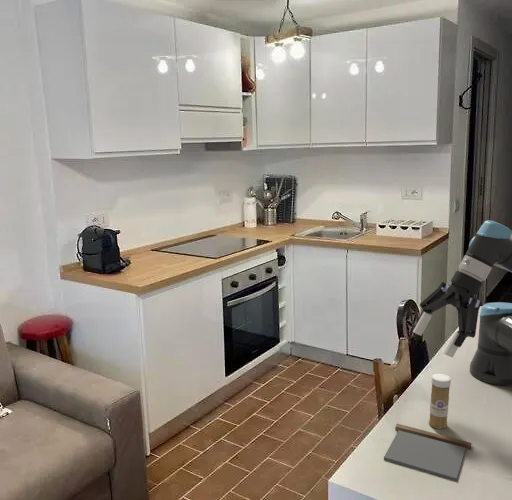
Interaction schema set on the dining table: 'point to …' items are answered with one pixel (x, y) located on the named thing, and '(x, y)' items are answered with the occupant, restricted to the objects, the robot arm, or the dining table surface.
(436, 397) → the sprinkles bottle
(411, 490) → the dining table surface
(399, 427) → the brown wooden strip
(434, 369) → the dining table surface
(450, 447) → the mat
